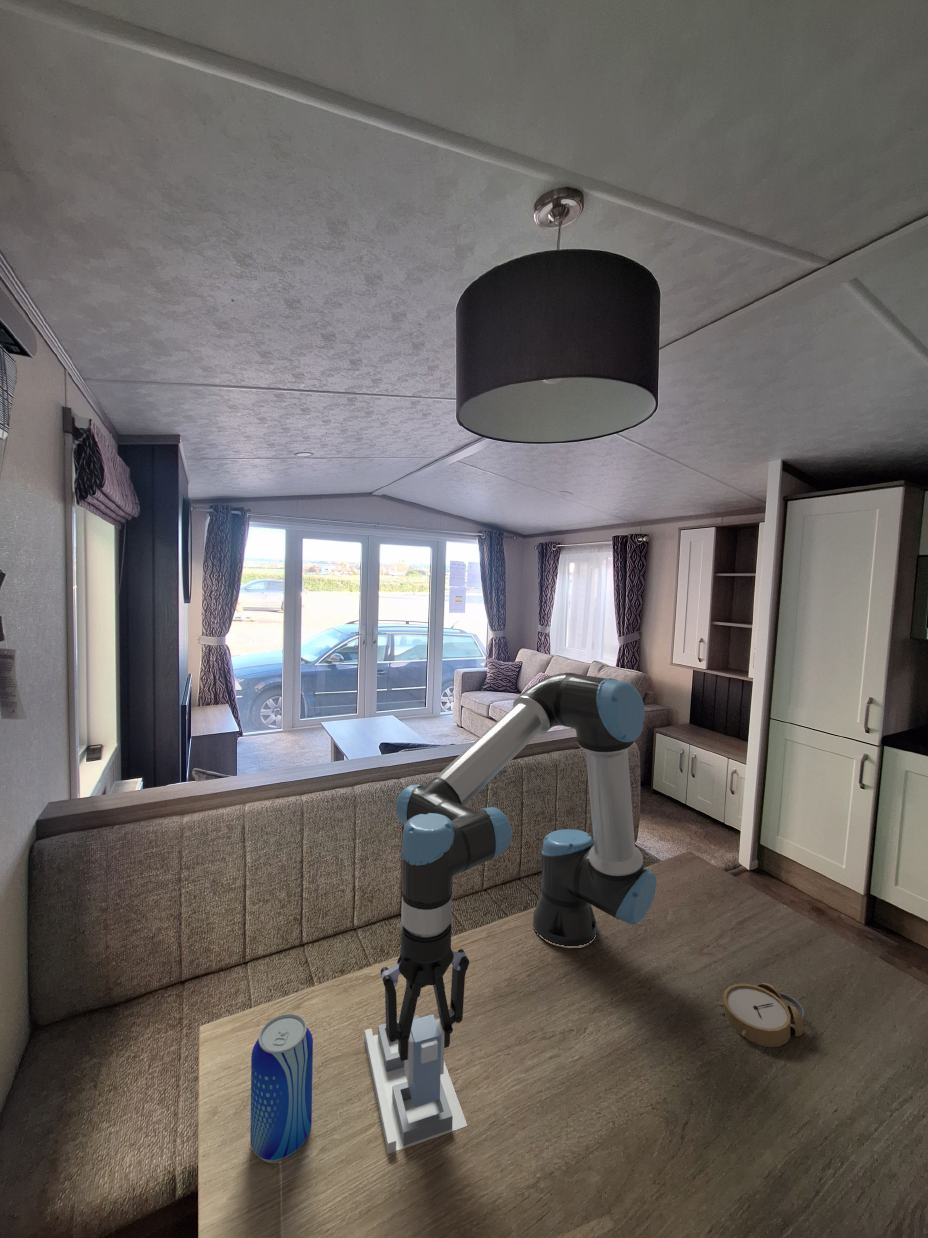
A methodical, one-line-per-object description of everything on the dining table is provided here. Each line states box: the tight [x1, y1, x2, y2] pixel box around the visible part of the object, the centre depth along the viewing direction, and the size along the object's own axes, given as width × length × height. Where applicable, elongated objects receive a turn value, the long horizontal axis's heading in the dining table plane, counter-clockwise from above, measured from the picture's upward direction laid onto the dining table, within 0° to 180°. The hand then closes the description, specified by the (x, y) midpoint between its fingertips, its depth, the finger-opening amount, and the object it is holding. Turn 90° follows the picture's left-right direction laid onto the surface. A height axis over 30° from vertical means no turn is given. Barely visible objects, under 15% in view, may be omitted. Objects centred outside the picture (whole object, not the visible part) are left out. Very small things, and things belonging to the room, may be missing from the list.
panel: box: [364, 1014, 468, 1155], centre depth 84 cm, size 12×20×3 cm, turn 20°
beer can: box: [249, 1013, 314, 1164], centre depth 75 cm, size 8×8×16 cm
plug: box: [408, 1013, 441, 1107], centre depth 77 cm, size 4×5×10 cm
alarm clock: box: [716, 982, 808, 1048], centre depth 98 cm, size 11×5×15 cm
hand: (423, 1071), depth 78 cm, fingers closed on plug, 4 cm apart
